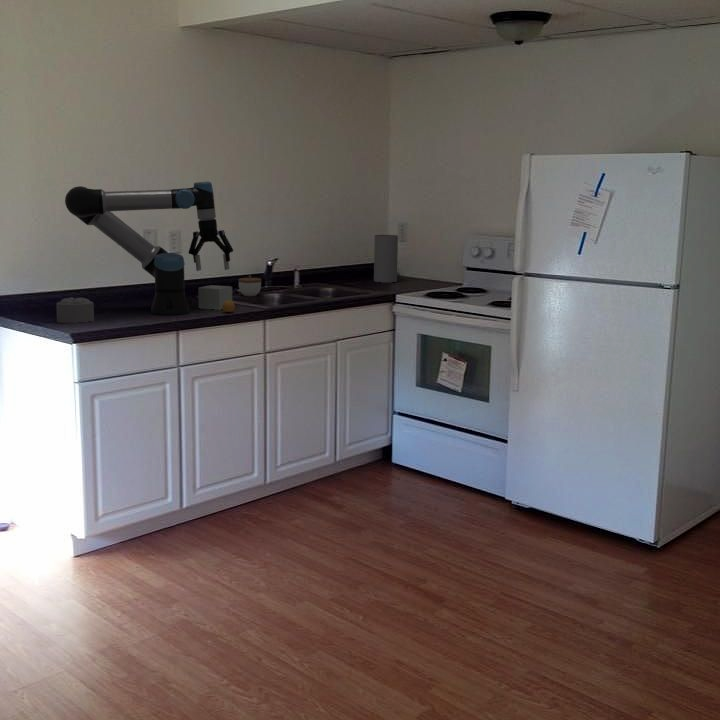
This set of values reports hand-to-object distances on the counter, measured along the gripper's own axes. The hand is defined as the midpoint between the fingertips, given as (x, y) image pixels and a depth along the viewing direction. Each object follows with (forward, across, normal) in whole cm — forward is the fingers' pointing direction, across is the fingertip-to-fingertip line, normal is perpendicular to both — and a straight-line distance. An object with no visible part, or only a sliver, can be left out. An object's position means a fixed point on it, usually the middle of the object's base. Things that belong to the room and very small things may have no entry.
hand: (212, 270), depth 380 cm
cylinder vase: (+26, -32, -126) cm, 132 cm away
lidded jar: (+18, +6, -40) cm, 45 cm away
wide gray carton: (+16, -1, +3) cm, 16 cm away
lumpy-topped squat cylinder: (+10, +28, +58) cm, 65 cm away
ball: (+13, -13, +13) cm, 23 cm away
